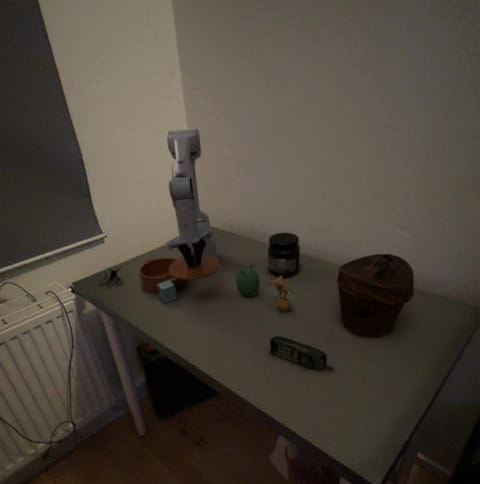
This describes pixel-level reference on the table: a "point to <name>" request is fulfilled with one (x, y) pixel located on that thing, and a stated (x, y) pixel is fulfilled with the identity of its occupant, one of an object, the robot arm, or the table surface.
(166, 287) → the block
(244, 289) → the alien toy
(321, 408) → the table surface
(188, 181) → the robot arm
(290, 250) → the supplement container
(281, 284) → the figurine
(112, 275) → the creature
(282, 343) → the mobile phone
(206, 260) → the lid
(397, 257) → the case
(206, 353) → the table surface
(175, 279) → the pot
